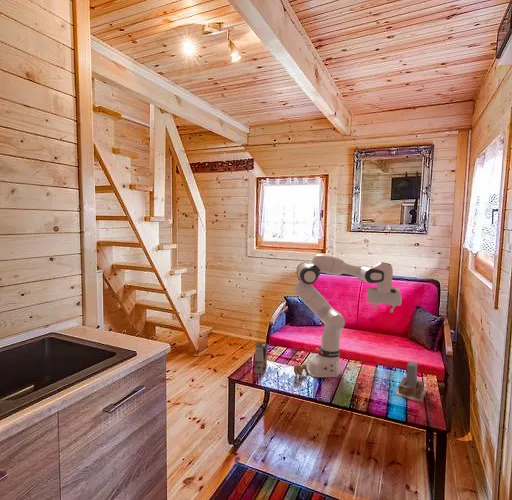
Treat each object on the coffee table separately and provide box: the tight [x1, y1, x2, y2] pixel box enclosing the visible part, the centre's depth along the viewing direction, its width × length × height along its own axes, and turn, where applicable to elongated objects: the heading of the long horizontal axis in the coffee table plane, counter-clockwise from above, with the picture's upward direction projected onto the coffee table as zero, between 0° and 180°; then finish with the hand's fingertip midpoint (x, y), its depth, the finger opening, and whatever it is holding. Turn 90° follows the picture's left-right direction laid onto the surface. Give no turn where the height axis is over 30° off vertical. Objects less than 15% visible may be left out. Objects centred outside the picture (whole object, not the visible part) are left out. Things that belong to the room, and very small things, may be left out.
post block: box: [394, 376, 428, 403], centre depth 179 cm, size 13×16×5 cm
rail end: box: [406, 360, 418, 389], centre depth 179 cm, size 4×7×15 cm, turn 146°
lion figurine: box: [293, 363, 309, 380], centre depth 197 cm, size 15×5×9 cm, turn 147°
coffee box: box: [254, 342, 268, 374], centre depth 204 cm, size 9×6×16 cm
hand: (383, 310), depth 202 cm, fingers open, 8 cm apart
